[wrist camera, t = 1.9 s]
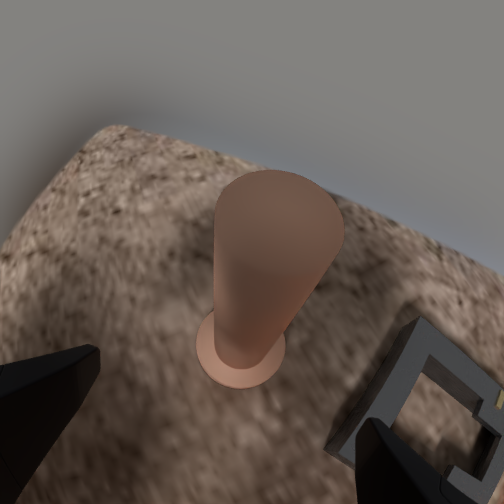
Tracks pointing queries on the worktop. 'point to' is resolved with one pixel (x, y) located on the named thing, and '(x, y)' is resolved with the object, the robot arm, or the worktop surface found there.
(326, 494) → the worktop surface
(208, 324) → the peg
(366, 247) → the worktop surface
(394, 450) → the robot arm
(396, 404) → the keyhole plate
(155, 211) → the worktop surface
